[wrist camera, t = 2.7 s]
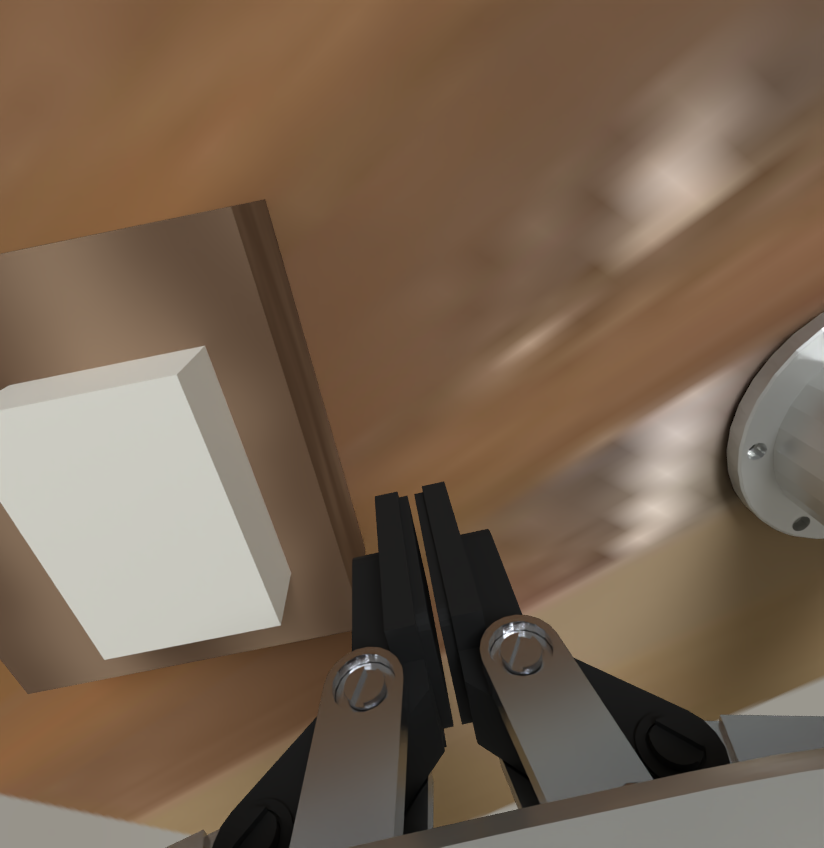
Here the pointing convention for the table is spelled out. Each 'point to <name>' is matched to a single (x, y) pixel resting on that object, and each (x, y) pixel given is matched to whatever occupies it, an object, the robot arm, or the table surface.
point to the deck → (242, 388)
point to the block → (142, 503)
